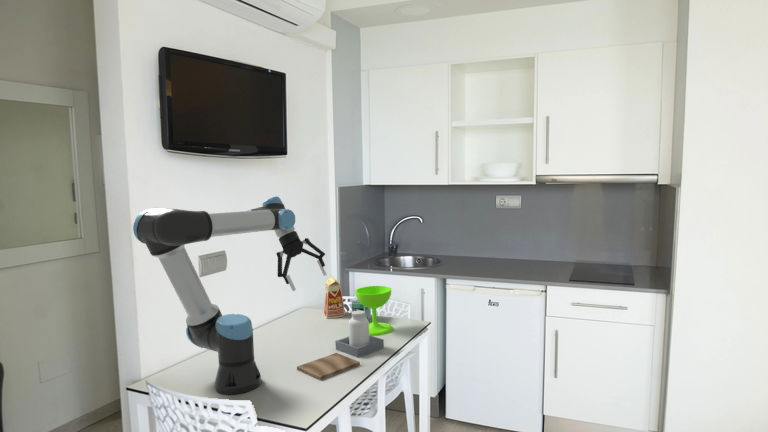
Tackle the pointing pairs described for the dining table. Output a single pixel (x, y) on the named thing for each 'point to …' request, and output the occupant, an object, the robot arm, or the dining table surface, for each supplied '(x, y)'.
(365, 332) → the pill bottle
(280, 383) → the dining table surface
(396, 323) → the dining table surface
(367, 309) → the light bulb box
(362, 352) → the bin
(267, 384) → the dining table surface
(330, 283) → the milk carton
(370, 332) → the wineglass
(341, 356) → the board
